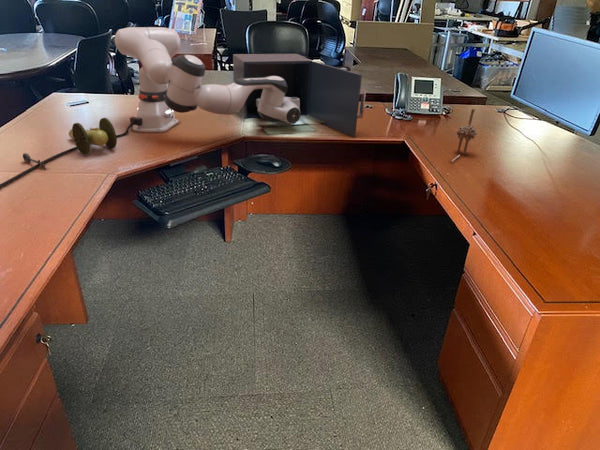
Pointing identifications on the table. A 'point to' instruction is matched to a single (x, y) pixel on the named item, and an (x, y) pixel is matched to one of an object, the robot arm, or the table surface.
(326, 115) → the cupboard door
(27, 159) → the key
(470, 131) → the ostrich figurine
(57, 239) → the table surface
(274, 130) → the desk mat
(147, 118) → the robot arm
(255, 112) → the cupboard
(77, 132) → the cannon
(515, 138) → the table surface
